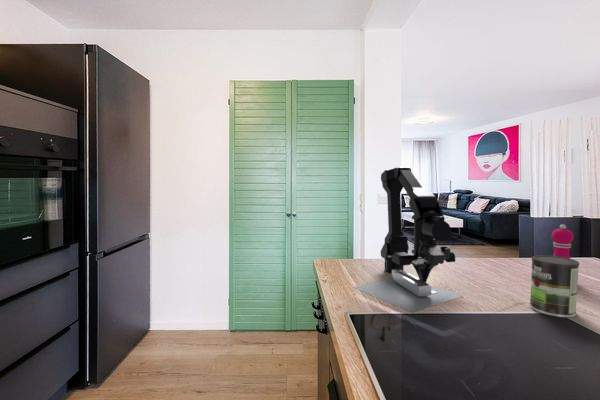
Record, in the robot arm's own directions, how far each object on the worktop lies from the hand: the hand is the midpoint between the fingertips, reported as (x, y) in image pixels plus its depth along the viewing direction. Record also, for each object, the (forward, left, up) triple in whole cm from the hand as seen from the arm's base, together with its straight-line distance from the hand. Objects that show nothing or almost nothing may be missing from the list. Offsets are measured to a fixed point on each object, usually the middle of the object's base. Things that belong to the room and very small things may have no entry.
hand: (423, 284), depth 104 cm
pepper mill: (+17, +51, -3) cm, 54 cm away
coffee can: (+27, +19, -3) cm, 34 cm away
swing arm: (-4, -2, -2) cm, 5 cm away
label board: (-3, -5, -3) cm, 6 cm away
